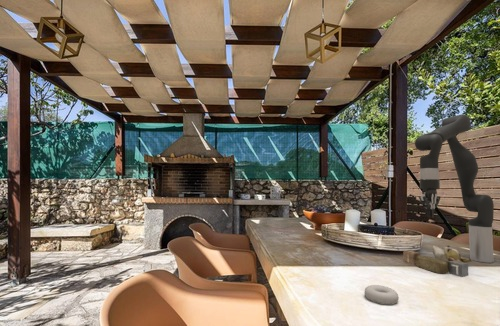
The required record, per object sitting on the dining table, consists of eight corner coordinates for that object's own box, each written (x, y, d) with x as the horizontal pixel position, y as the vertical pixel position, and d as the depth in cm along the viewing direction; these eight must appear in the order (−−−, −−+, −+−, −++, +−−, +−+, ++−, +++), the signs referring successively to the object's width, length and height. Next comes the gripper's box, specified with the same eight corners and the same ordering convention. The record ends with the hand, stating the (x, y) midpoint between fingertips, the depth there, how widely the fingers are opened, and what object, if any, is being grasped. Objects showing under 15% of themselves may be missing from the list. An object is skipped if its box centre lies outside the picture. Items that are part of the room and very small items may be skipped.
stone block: (440, 275, 115) (439, 262, 116) (414, 267, 126) (414, 255, 127) (450, 273, 117) (449, 261, 117) (424, 266, 128) (424, 254, 129)
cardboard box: (409, 260, 136) (409, 250, 136) (420, 263, 132) (419, 252, 132) (403, 261, 134) (403, 251, 134) (413, 264, 129) (413, 253, 130)
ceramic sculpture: (436, 240, 143) (472, 248, 131) (436, 257, 143) (472, 266, 131) (428, 243, 136) (465, 251, 124) (427, 260, 136) (464, 270, 124)
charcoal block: (455, 272, 119) (454, 260, 120) (468, 275, 115) (468, 263, 115) (448, 273, 117) (448, 261, 117) (462, 277, 112) (461, 264, 113)
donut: (374, 291, 96) (358, 297, 90) (373, 281, 96) (358, 286, 90) (404, 301, 88) (389, 309, 82) (404, 290, 88) (389, 297, 82)
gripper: (429, 179, 131) (430, 215, 130) (412, 178, 125) (413, 216, 124) (446, 179, 124) (447, 217, 123) (429, 178, 118) (430, 218, 117)
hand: (430, 217), depth 123 cm, fingers closed
